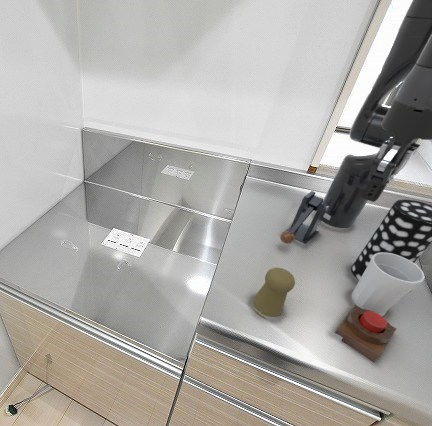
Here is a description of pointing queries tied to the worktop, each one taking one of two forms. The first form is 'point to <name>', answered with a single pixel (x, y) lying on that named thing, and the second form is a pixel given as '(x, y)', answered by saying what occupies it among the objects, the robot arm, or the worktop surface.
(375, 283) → the cup
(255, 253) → the worktop surface
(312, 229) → the lever bracket
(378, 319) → the button
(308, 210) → the lever
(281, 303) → the cork
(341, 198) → the robot arm
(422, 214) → the white-spotted black cylinder
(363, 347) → the button block
